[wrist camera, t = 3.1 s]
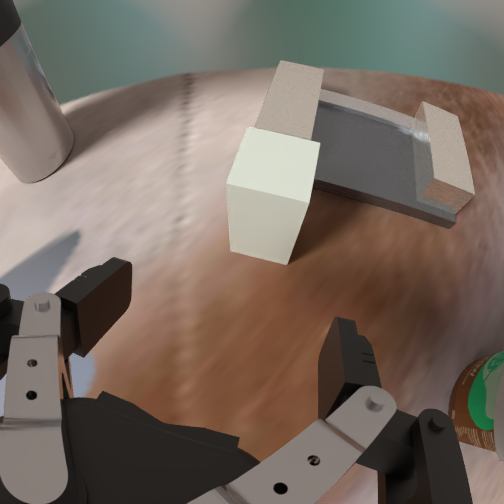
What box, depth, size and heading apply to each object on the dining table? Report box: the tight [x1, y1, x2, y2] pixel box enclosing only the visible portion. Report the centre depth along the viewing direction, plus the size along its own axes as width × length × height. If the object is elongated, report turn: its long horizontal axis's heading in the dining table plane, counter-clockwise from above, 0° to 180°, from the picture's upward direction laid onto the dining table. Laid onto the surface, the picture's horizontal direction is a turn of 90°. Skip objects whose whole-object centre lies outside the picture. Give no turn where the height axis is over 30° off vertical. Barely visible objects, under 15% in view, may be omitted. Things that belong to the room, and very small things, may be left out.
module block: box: [226, 127, 320, 265], centre depth 24 cm, size 5×5×10 cm
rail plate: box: [254, 60, 475, 229], centre depth 31 cm, size 22×14×6 cm, turn 76°
